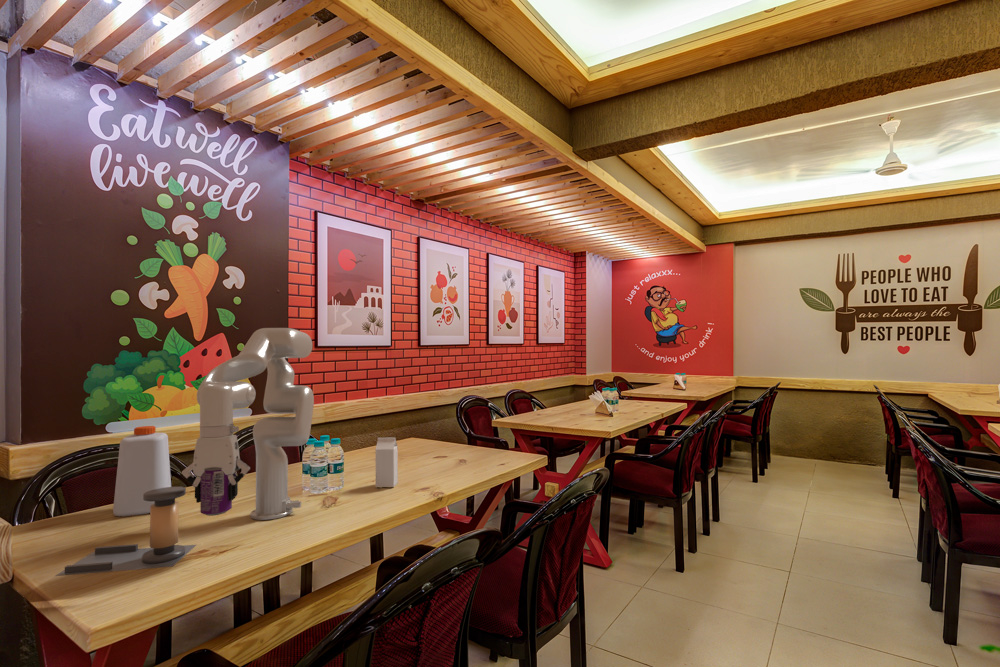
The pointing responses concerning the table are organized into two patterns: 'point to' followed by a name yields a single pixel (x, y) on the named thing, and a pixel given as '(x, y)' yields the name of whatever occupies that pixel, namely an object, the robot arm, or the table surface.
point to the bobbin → (164, 525)
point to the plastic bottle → (141, 470)
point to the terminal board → (116, 560)
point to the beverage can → (214, 492)
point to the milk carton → (386, 462)
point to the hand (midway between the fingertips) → (216, 499)
